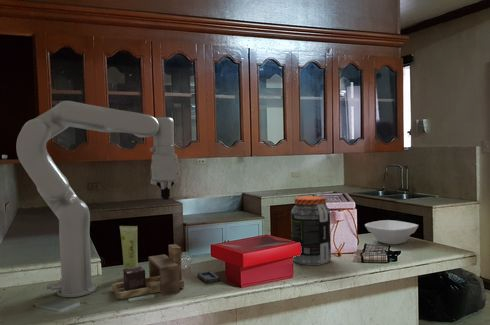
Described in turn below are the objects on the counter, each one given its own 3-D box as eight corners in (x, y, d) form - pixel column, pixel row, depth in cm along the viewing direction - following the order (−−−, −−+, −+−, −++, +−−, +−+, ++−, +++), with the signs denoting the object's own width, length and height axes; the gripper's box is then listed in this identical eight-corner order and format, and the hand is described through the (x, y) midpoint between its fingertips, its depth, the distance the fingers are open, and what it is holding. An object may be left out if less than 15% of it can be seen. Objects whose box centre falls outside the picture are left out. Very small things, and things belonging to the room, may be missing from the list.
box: (141, 286, 148) (140, 265, 147) (146, 291, 142) (145, 270, 142) (123, 290, 145) (122, 268, 144) (128, 295, 139) (127, 273, 139)
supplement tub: (339, 263, 168) (337, 198, 167) (304, 268, 163) (302, 201, 161) (318, 253, 183) (316, 194, 182) (285, 258, 177) (283, 196, 176)
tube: (123, 281, 154) (121, 227, 153) (121, 277, 158) (119, 225, 157) (139, 278, 156) (137, 226, 155) (137, 275, 161) (134, 223, 160)
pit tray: (206, 283, 149) (206, 279, 149) (197, 276, 157) (197, 273, 157) (219, 280, 151) (219, 277, 151) (210, 274, 159) (210, 270, 159)
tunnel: (161, 295, 138) (160, 268, 138) (149, 281, 153) (148, 256, 152) (179, 292, 141) (178, 265, 140) (165, 278, 155) (164, 254, 155)
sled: (117, 299, 134) (115, 258, 134) (111, 289, 144) (110, 251, 144) (184, 286, 144) (182, 249, 144) (174, 278, 154) (173, 242, 153)
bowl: (359, 242, 202) (358, 224, 202) (387, 235, 213) (387, 219, 213) (395, 250, 185) (395, 231, 184) (424, 243, 196) (424, 224, 196)
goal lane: (129, 302, 133) (129, 300, 133) (119, 286, 148) (119, 284, 148) (154, 297, 136) (154, 295, 136) (142, 282, 152) (142, 280, 152)
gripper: (146, 151, 152) (147, 202, 153) (186, 150, 159) (187, 199, 159) (142, 151, 159) (143, 199, 160) (180, 150, 165) (182, 197, 166)
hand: (165, 199), depth 160 cm, fingers closed
